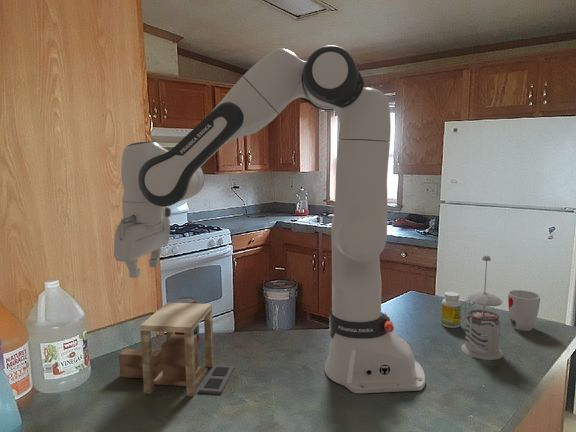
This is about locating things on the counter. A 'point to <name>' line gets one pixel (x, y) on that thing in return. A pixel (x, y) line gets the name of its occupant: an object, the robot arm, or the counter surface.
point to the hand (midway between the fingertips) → (144, 271)
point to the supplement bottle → (451, 310)
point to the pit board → (216, 379)
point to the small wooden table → (172, 321)
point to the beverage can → (188, 300)
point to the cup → (523, 309)
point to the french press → (477, 344)
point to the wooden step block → (162, 363)
